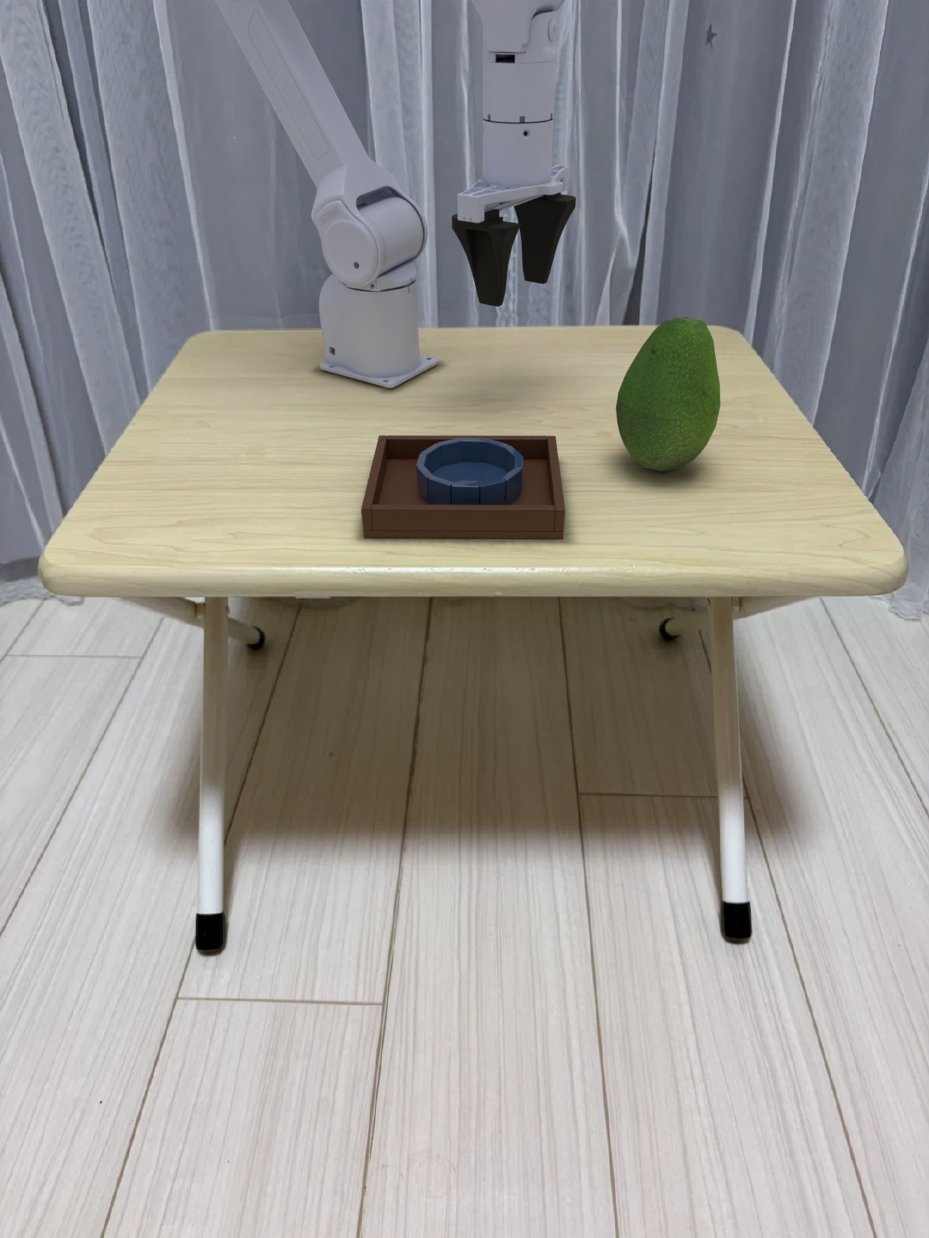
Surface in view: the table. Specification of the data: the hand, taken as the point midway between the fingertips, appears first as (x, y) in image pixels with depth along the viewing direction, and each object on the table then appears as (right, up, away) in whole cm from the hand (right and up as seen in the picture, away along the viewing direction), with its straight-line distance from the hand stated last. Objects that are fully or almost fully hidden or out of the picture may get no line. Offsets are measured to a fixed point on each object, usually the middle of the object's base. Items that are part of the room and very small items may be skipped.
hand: (514, 292), depth 77 cm
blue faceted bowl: (-4, -19, -10) cm, 22 cm away
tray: (-4, -20, -10) cm, 23 cm away
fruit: (+11, -17, -6) cm, 21 cm away
